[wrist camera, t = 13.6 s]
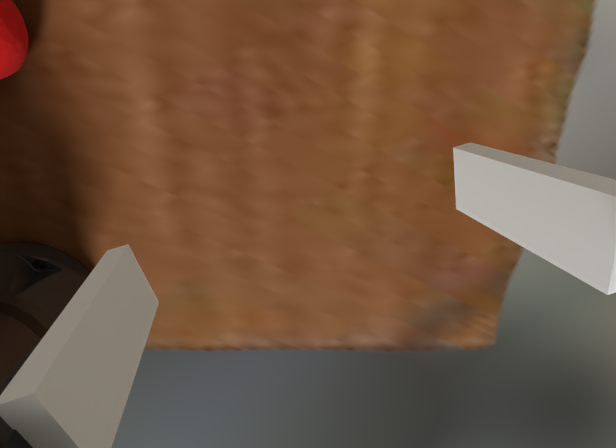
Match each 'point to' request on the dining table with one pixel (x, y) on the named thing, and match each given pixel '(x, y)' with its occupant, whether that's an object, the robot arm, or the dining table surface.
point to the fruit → (12, 39)
